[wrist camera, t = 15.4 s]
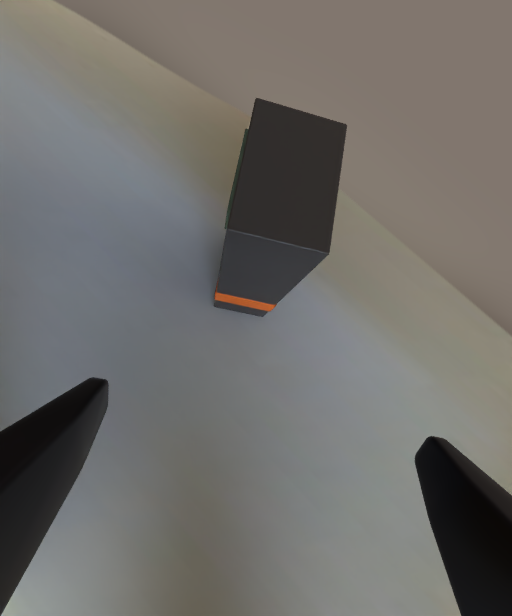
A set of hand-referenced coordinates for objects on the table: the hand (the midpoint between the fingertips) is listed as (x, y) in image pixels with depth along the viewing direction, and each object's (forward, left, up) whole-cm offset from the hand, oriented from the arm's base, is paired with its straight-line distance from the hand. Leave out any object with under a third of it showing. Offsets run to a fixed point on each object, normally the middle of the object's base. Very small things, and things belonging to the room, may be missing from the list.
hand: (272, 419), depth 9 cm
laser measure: (+3, +8, -13) cm, 16 cm away
